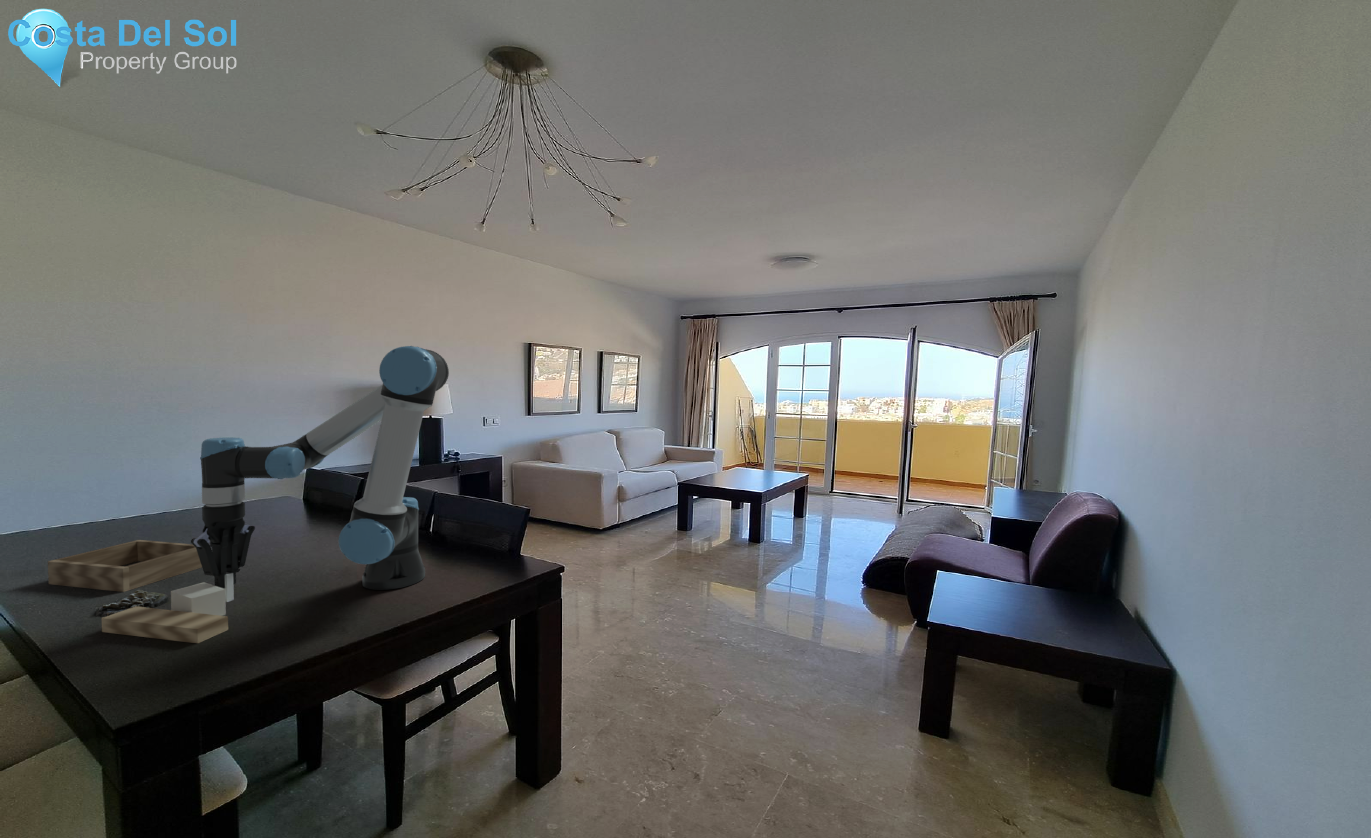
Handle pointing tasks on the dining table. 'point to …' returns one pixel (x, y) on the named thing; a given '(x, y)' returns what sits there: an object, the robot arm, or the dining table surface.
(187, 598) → the block
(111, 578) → the wooden serving tray
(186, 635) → the batten
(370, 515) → the robot arm
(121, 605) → the crumpled grey lump
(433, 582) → the dining table surface
